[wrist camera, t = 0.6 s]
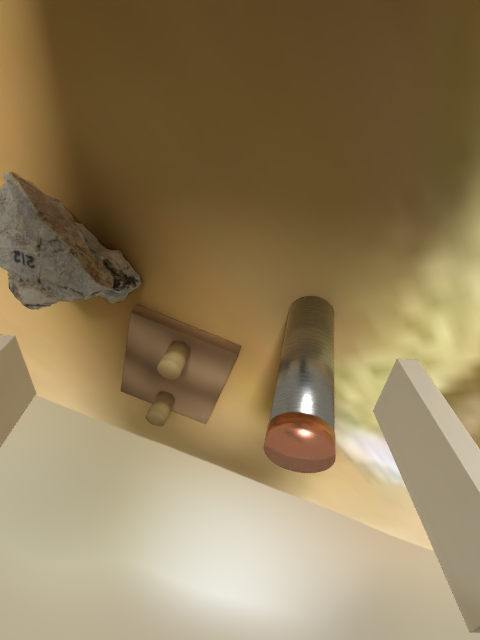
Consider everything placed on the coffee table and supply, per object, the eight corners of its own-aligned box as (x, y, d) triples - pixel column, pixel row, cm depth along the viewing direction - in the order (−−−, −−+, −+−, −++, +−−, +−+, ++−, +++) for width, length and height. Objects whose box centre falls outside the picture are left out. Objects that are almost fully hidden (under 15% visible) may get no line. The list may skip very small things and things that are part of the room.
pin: (299, 288, 25) (279, 423, 16) (343, 306, 25) (349, 450, 16) (281, 322, 27) (254, 456, 18) (321, 338, 27) (315, 480, 18)
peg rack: (137, 304, 29) (114, 333, 26) (240, 346, 30) (230, 378, 27) (126, 383, 37) (107, 412, 34) (208, 415, 37) (197, 446, 34)
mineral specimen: (105, 236, 32) (166, 200, 25) (106, 319, 31) (170, 304, 25) (-21, 207, 25) (18, 147, 18) (-23, 315, 24) (18, 293, 17)
